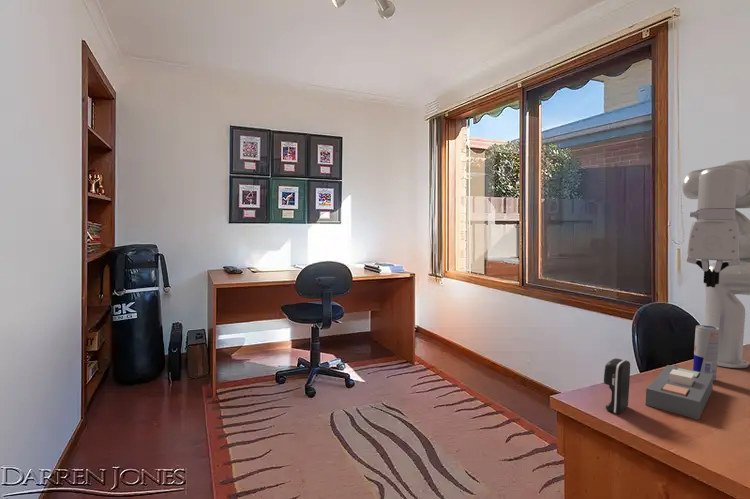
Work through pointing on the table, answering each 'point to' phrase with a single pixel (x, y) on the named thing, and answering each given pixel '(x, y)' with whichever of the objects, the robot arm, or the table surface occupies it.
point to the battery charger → (618, 384)
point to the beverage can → (706, 349)
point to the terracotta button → (675, 389)
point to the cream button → (681, 377)
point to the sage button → (696, 374)
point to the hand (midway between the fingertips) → (710, 286)
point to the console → (679, 403)
